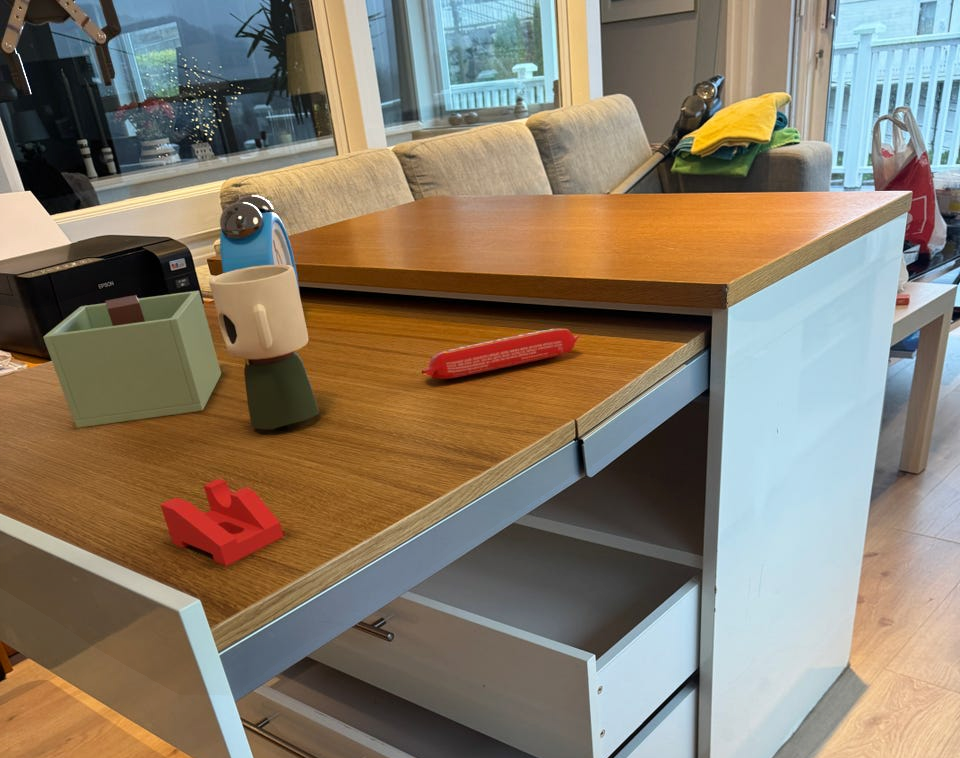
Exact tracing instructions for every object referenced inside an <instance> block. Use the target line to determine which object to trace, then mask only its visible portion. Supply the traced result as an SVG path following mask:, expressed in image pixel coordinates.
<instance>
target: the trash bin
mask: <svg viewBox="0 0 960 758" xmlns="http://www.w3.org/2000/svg"><path fill="white" fill-rule="evenodd" d="M137 299H138V301H139V303H140V306H141V310H142V313H143V316H144V320H145V322H139V323H132V324H124V325H117V326H113V325H112V322H111V319H110V316H109V313H108V310H107V306H106V302H103V303H97V304H89V305H81V306H79V307H78V308H77V309H76V310H74V311H73V312H72V313H71V314H69V315H68V316H67V317H66V318H64V319H63V320H62V321H61V322H60V323H58V324H57V325H56V326H55V327H53V328H52V329H51V330H50V331H49V332H47V333H46V334H45V335H44V336H43V341H44V344H45V346H46V349H47V351H48V354H49V357H50V360H51V362H52V365H53V368H54V371H55V373H56V377H57V378H58V381H59V384H60V386H61V389H62V390H61V391H62V392H63V395H64V398H65V400H66V403H67V406H68V409H69V411H70V414H71V417H72V419H73V422H74V424H75V428H76V429H82V428H87V427H94V426H102V425H110V424H117V423H124V422H131V421H138V420H147V419H153V418H160V417H167V416H175V415H182V414H190V413H196V412H203V411H204V409H205V407H206V405H207V403H208V401H209V399H210V397H211V396H212V393H213V391H214V390H215V387H216V385H217V383H218V381H219V380H220V377H221V375H222V371H221V368H220V363H219V359H218V357H217V353H216V348H215V345H214V340H213V338H212V333H211V329H210V326H209V323H208V319H207V314H206V311H205V308H204V304H203V300H202V296H201V292H200V290H193V291H185V292H178V293H177V292H176V293H170V294H164V295H156V296H147V297H141V298H137Z"/></svg>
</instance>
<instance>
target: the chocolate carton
mask: <svg viewBox="0 0 960 758" xmlns="http://www.w3.org/2000/svg"><path fill="white" fill-rule="evenodd" d="M138 299H139V298H138V297H137V294H135V295H129V296H124V297H119V298H113V299H107V300H105V301H104V303H106V306H107V310H108V313H109V316H110V319H111V322H112V325H113V326H117V325H124V324H132V323H139V322H145V320H144V316H143V313H142V310H141V306H140V303H139V301H138Z"/></svg>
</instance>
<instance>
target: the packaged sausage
mask: <svg viewBox="0 0 960 758" xmlns="http://www.w3.org/2000/svg"><path fill="white" fill-rule="evenodd" d="M580 337H581V334H577V335H575V336H574V335H573V333H572V331H570V330H569V329H568V328H550V329H545V330H538V331H533V332H528V333H523V334H519V335H514V336H509V337H504V338H498V339H494V340H490V341H485V342H481V343H475V344H469V345H466V346H465V345H464V346H460V347H457V348H452V349H447V350H443V351H442V352H439V353H436V354H433V356H432V357H431V358H430V360H429V362H428V367H427V368H426V369H425V368H424V369H422V371H421V374H426V375H428V376H430V377H431V378H432V379H436V380H445V379H446V380H447V379H455V378H459V377H465V376H466V377H467V376H469V375H470V376H471V375H475V374H480V373H484V372H490V371H494V370H499V369H503V368H508V367H513V366H517V365H522V364H527V363H532V362H537V361H540V360H545V359H549V358H553V357H557V356H562V355H564V354H567V353H569V352H571V351H572V350H573V349H575V348H574V347H575V344H576V342H577V340H578V339H579V338H580Z"/></svg>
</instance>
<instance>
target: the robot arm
mask: <svg viewBox="0 0 960 758" xmlns="http://www.w3.org/2000/svg"><path fill="white" fill-rule="evenodd" d="M3 1H4V2H5V3H6V4H7V5H8V6H9V7H10V8H11V12H10V14H9V18H8V20H7V25H6V27H5V31H4V35H3V37H0V53H1V54H3V56H4V58H5V61H6V64H7V67H8V70H9V73H10V76H11V80H12V82H13V85H14V86H15V88H16V89H17V90H22V91H23V94H24V96H29V95H30V96H31V95H32V92H31V88H30V85H29V82H28V78H27V76H26V72H25V69H24V66H23V62H22V59H21V56H20V54H19V53H17V46H18V44H19V41H20V37H21V35H22V33H23V29H24V27H25V24H26V23H27V24H29V25H32V26H34V27H37V26H43V25H46V24H48V23H52V24H55V25H58V24H65V22H67V21H68V20H69V19H70V20H72V22H74V23H75V24H76V26H78V28H80V29H81V30H82V31H83V32H84V33H85V34H86V35H87V36H88V37H89V38H90V39H91V40H92V41H93V42H94V47H93V49H94V53H95V56H96V59H97V64H98V67H99V70H100V74H101V78H102V81H103V84H104V87H110V86H111V87H112V86H113V84H112V81H111V80H115V78H116V71H115V67H114V64H113V59H112V56H111V52H110V49H109V42H111V41H112V40H114V39H116V38H118V37H119V36H120V35H121V33H122V26H121V24H120V20H119V17H118V14H117V11H116V7H115V4H114V1H113V0H98V2H99V5H100V9H101V12H102V14H103V17H104V20H105V23H106V25H105V26H104V27H102V28H100V27H99V26H98V25H97V24H96V23H95V22H94V21H93V20H92V19H91V18H90V17H89V15H87V14H86V13H85V12H84V10H83V9H82V8H81V7H79V5H78V4H77V3H76V0H3Z"/></svg>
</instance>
